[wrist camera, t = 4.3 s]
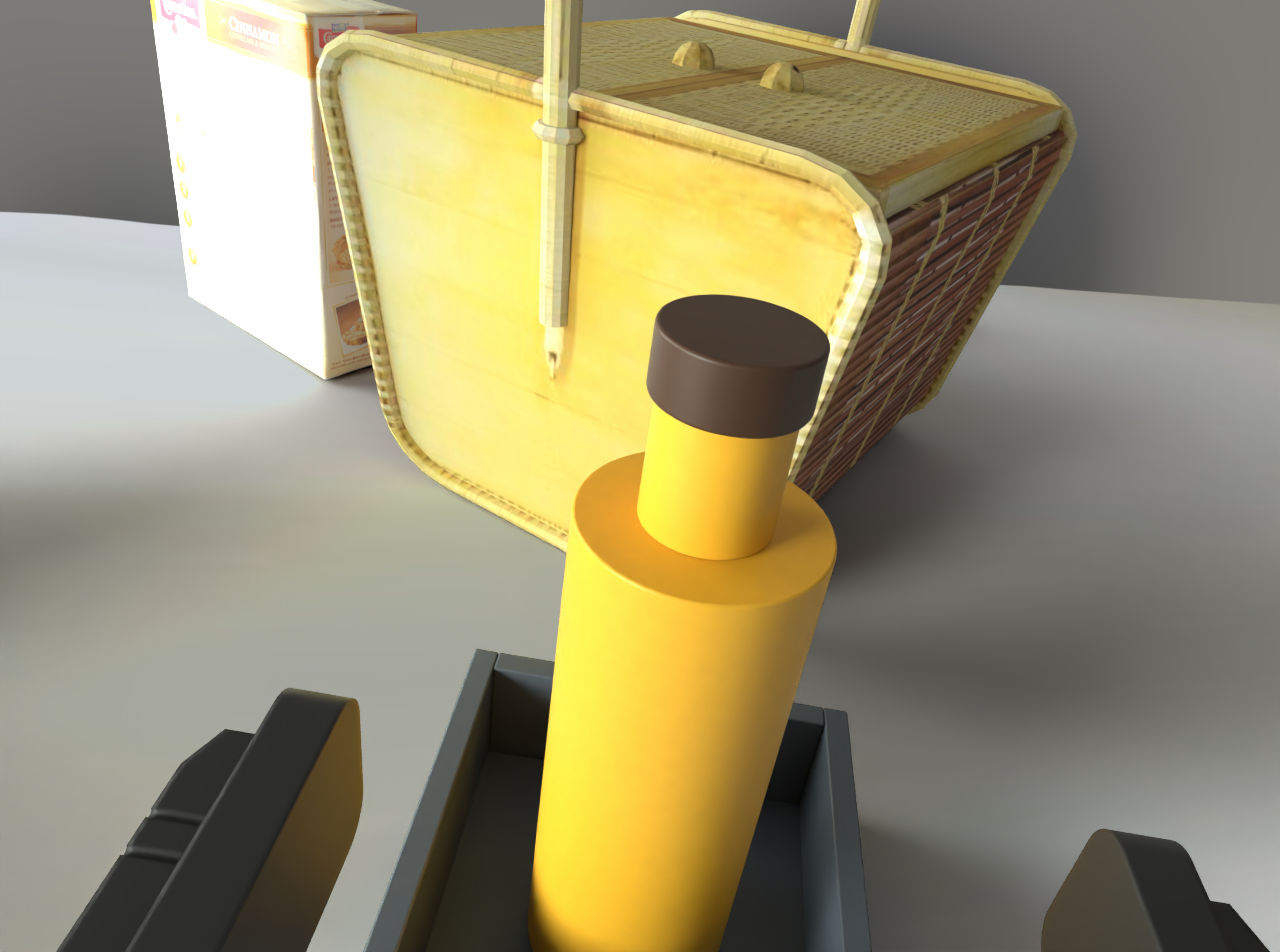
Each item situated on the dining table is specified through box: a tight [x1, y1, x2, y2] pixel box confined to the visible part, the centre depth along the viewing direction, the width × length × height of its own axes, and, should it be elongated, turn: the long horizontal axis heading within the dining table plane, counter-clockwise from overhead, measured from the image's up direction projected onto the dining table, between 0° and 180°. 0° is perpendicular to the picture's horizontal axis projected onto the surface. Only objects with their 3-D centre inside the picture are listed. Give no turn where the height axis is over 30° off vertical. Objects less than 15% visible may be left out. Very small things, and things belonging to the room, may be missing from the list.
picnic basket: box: [316, 0, 1077, 552], centre depth 46 cm, size 29×26×30 cm
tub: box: [363, 649, 872, 952], centre depth 28 cm, size 13×13×5 cm
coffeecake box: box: [150, 0, 417, 380], centre depth 56 cm, size 15×7×20 cm, turn 50°
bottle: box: [528, 294, 837, 952], centre depth 23 cm, size 6×6×20 cm
